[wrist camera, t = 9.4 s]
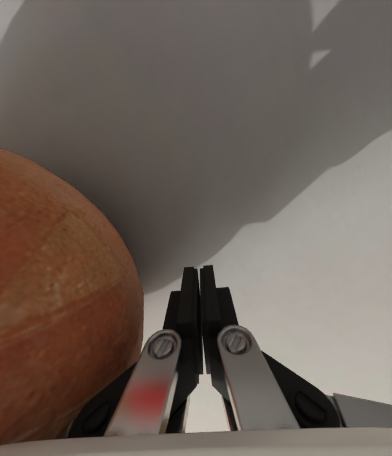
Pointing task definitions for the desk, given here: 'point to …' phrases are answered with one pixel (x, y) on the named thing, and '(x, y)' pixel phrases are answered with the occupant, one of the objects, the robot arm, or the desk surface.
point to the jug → (59, 302)
